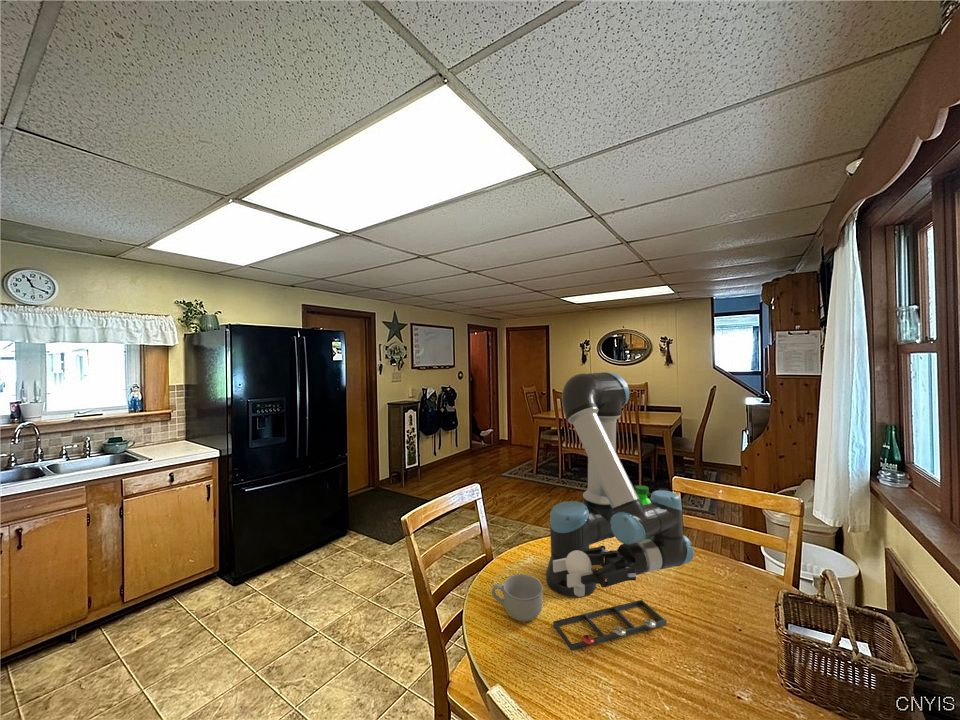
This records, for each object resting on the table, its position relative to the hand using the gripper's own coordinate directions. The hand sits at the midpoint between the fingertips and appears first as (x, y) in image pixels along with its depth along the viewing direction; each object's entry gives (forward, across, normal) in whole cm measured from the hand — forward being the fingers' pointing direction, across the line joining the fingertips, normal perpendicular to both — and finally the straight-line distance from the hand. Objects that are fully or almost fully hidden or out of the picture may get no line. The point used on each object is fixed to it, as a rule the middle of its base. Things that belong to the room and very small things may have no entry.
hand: (560, 573), depth 93 cm
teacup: (+7, +13, -16) cm, 22 cm away
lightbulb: (-5, 0, -7) cm, 8 cm away
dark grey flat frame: (-14, +1, -16) cm, 21 cm away
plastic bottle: (-44, +24, -16) cm, 53 cm away
